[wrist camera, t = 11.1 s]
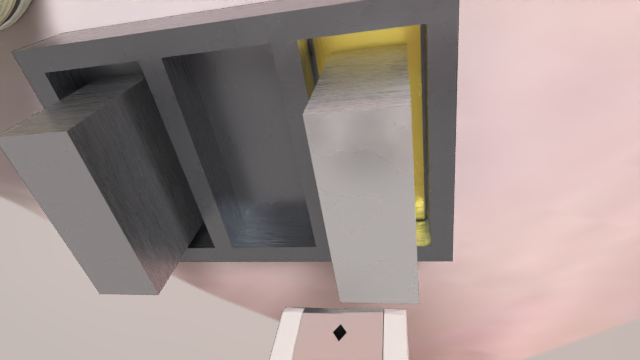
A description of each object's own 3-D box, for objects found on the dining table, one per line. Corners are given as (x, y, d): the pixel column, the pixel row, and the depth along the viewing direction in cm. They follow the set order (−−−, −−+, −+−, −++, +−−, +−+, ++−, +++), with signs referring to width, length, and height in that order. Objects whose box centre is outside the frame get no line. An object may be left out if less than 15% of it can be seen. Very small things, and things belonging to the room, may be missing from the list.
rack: (449, -27, 15) (482, 13, 9) (445, 225, 21) (464, 339, 16) (61, 33, 19) (-85, 87, 13) (159, 231, 25) (90, 324, 20)
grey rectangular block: (406, 43, 15) (411, 105, 11) (413, 206, 20) (419, 304, 15) (330, 52, 16) (302, 114, 11) (353, 207, 20) (340, 302, 16)
